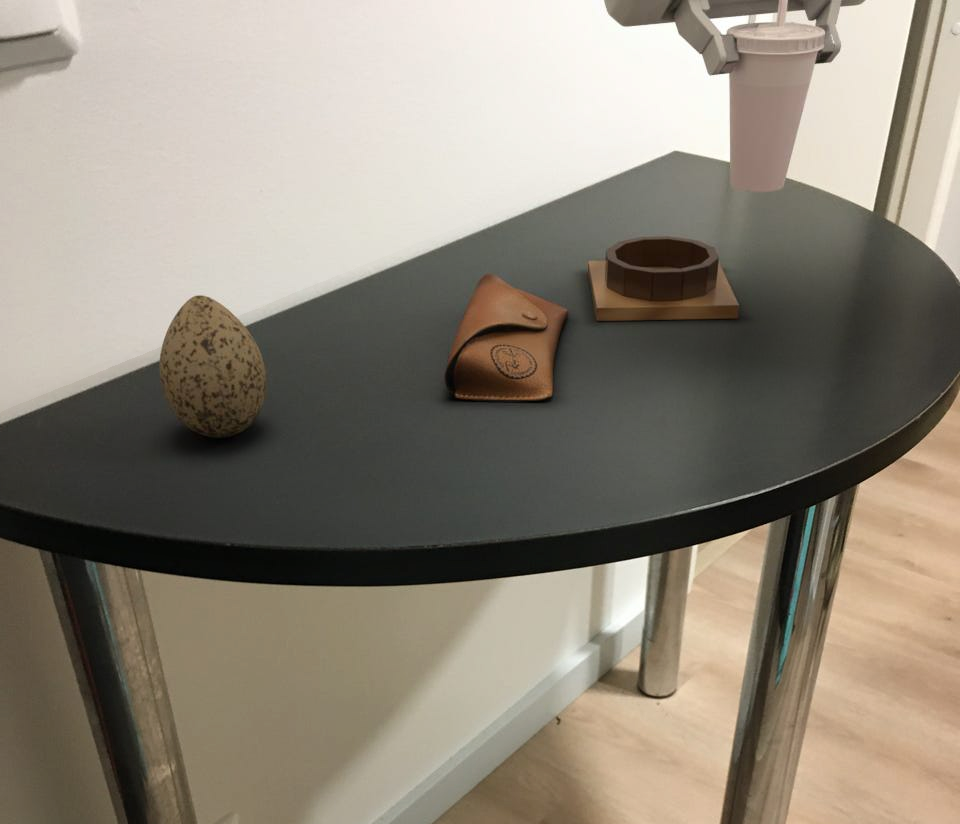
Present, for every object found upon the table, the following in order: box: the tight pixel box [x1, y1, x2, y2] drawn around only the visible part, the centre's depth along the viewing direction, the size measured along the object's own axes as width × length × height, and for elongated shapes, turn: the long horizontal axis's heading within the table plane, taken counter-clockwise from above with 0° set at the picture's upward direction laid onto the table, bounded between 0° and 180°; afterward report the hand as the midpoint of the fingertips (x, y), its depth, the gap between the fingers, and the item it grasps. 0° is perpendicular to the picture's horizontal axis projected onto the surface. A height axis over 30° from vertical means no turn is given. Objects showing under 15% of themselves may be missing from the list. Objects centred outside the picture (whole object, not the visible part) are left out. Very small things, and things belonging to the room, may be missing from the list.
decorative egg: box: [158, 294, 268, 439], centre depth 76 cm, size 7×7×10 cm
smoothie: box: [726, 0, 825, 193], centre depth 74 cm, size 6×6×14 cm
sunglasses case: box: [444, 272, 570, 403], centre depth 88 cm, size 18×7×7 cm
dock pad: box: [587, 235, 740, 322], centre depth 98 cm, size 12×12×4 cm
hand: (777, 63), depth 73 cm, fingers closed on smoothie, 6 cm apart
